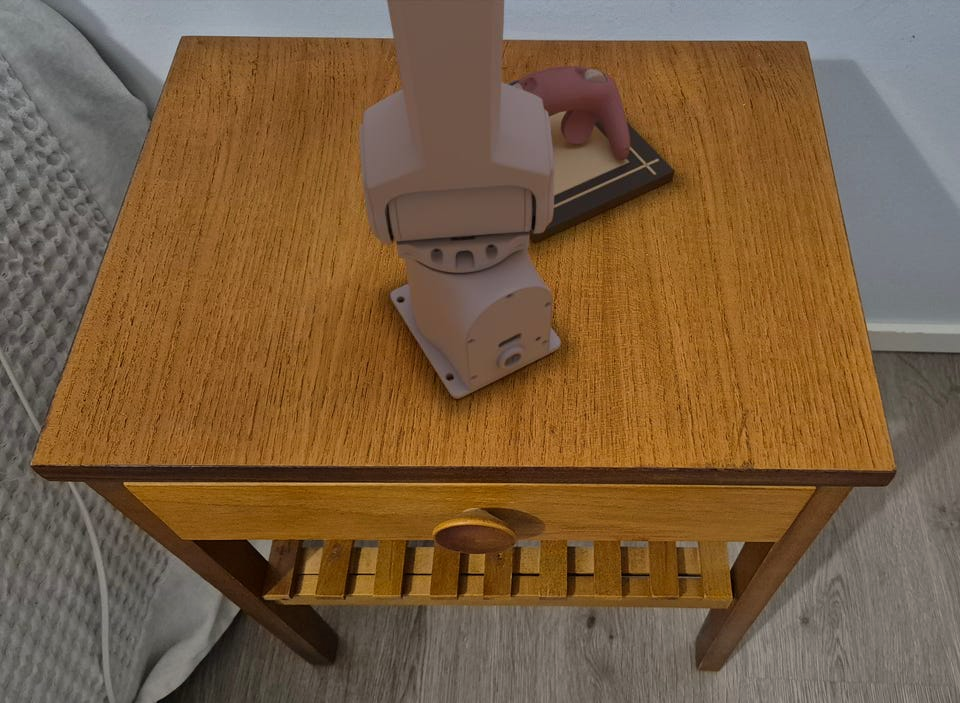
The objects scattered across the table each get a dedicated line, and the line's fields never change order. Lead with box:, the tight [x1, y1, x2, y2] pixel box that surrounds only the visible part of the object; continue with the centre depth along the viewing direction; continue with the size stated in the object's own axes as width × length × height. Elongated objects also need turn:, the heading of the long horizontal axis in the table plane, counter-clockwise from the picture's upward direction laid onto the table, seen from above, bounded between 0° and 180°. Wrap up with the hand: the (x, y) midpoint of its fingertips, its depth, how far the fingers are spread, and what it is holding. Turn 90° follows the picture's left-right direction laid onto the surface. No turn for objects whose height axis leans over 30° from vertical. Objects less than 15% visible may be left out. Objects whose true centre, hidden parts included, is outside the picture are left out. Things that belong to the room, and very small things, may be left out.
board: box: [529, 111, 675, 244], centre depth 61 cm, size 12×12×1 cm
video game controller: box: [507, 65, 630, 160], centre depth 59 cm, size 10×5×7 cm, turn 105°
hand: (444, 8), depth 57 cm, fingers open, 7 cm apart
